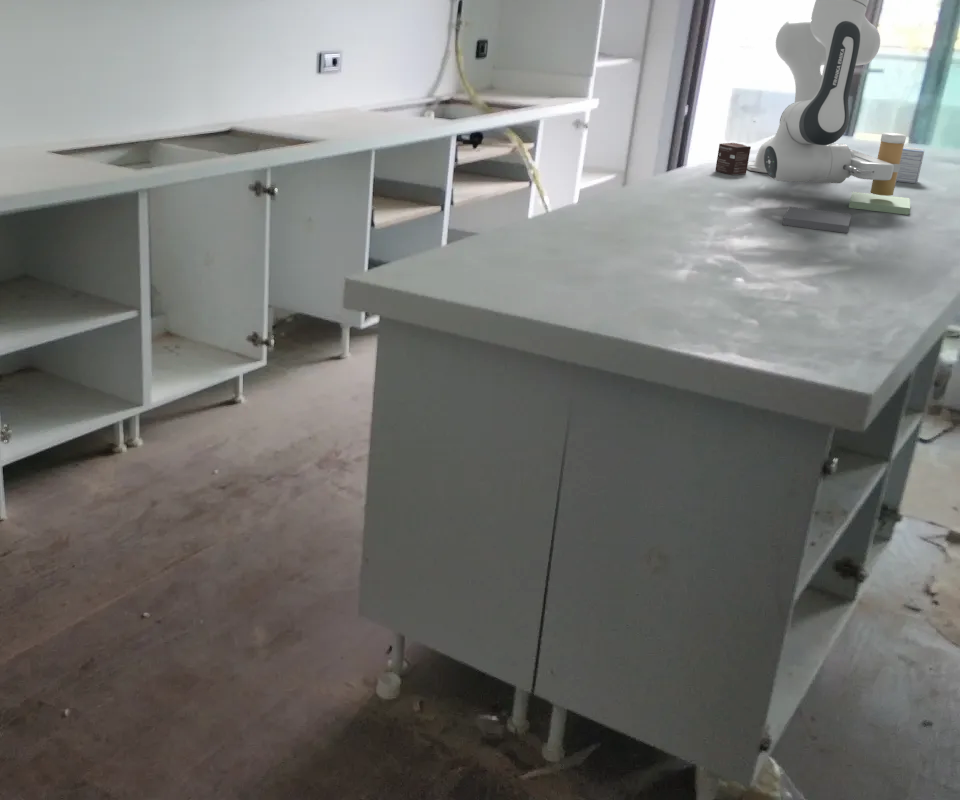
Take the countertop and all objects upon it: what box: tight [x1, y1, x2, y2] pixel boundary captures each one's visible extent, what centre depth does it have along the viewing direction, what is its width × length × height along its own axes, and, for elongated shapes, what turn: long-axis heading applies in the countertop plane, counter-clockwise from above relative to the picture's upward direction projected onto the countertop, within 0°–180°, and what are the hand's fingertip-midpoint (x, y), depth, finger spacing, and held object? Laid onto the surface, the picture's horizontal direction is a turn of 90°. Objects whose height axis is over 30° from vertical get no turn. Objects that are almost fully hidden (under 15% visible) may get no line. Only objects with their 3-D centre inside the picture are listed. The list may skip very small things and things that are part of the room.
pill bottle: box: [869, 132, 907, 196], centre depth 224 cm, size 5×5×13 cm
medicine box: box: [896, 146, 925, 184], centre depth 259 cm, size 8×4×9 cm, turn 65°
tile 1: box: [782, 206, 852, 234], centre depth 207 cm, size 13×13×2 cm
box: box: [715, 142, 752, 176], centre depth 259 cm, size 6×6×7 cm
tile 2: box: [848, 191, 911, 216], centre depth 227 cm, size 13×13×2 cm
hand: (891, 165), depth 224 cm, fingers closed on pill bottle, 5 cm apart
